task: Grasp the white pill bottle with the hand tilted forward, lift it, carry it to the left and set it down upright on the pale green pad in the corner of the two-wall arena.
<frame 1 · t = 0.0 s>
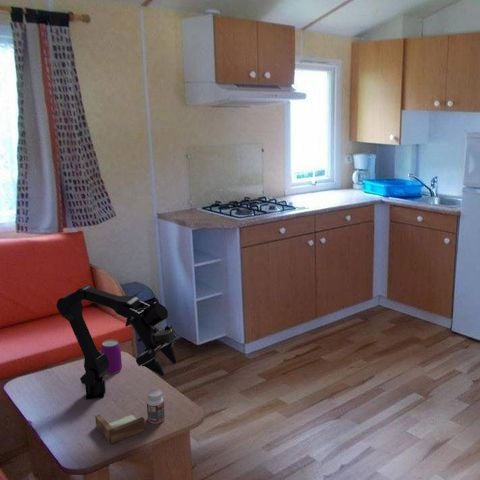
hand: (169, 369, 180), 15 cm above the table, tool tilted 35°, fingers open, 9 cm apart
pill bottle: (156, 419, 177), on the table
beverage can: (112, 370, 212), on the table
arena: (125, 426, 173), on the table
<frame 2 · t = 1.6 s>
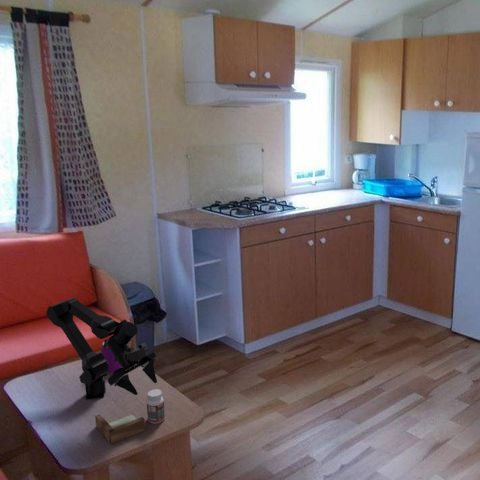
hand: (146, 388, 176), 10 cm above the table, tool tilted 45°, fingers open, 9 cm apart
nothing on the table moved.
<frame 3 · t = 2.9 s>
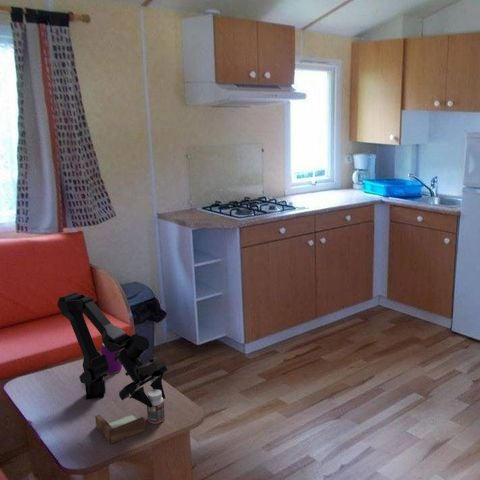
hand: (158, 402, 175), 7 cm above the table, tool tilted 45°, fingers closed on pill bottle, 6 cm apart
pill bottle: (156, 419, 177), on the table, touching gripper
everything else where it was.
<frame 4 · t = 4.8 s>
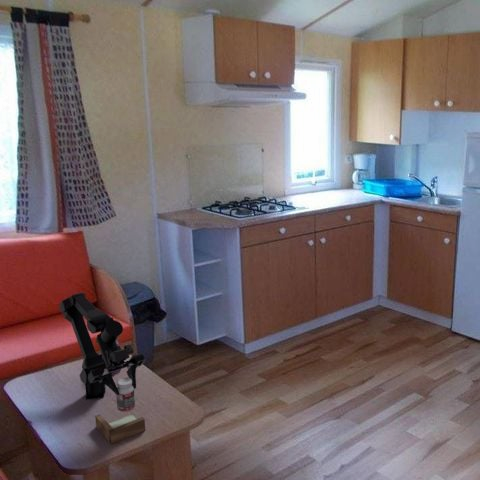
hand: (126, 391, 170), 13 cm above the table, tool tilted 45°, fingers closed on pill bottle, 6 cm apart
pill bottle: (126, 408, 172), point 6 cm above the table, touching gripper
everything else where it was.
when the fingers open (8 cm above the table, at t = 6.3 s): pill bottle stays where it is, resting on arena.
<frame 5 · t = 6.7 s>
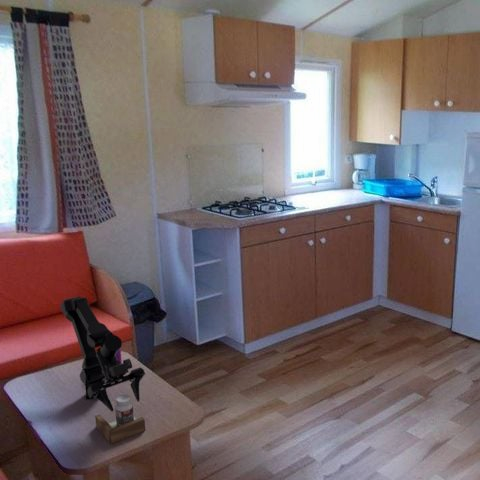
hand: (125, 406, 170), 8 cm above the table, tool tilted 45°, fingers open, 9 cm apart
pill bottle: (125, 425, 174), resting on arena
everything else where it was.
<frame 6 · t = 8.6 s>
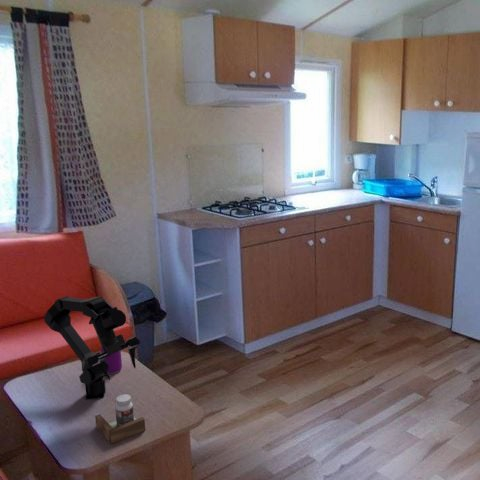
hand: (122, 374, 182), 13 cm above the table, tool tilted 25°, fingers open, 9 cm apart
nothing on the table moved.
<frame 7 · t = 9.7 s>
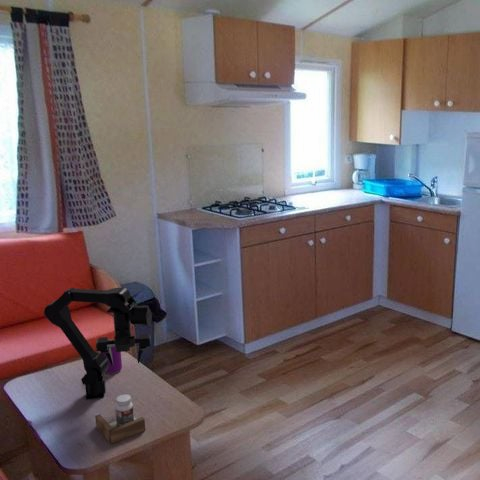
hand: (125, 363, 189), 13 cm above the table, tool pointing down, fingers open, 9 cm apart
nothing on the table moved.
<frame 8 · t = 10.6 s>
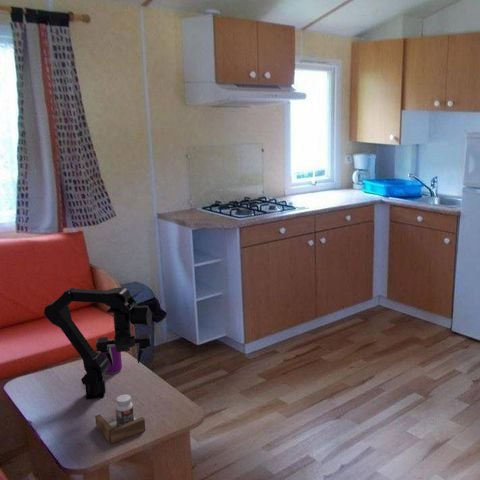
hand: (125, 363, 189), 13 cm above the table, tool pointing down, fingers open, 9 cm apart
nothing on the table moved.
at the end: pill bottle 0.2 cm from the arena (horizontally); pill bottle tilted 0°; the gripper is holding nothing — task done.
